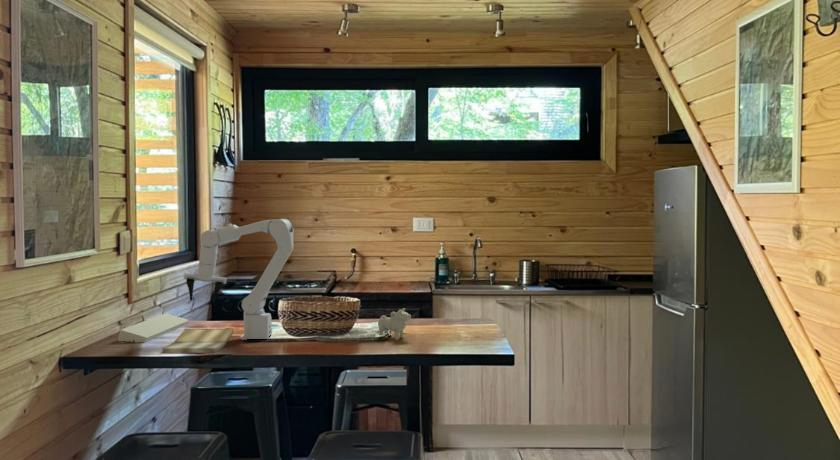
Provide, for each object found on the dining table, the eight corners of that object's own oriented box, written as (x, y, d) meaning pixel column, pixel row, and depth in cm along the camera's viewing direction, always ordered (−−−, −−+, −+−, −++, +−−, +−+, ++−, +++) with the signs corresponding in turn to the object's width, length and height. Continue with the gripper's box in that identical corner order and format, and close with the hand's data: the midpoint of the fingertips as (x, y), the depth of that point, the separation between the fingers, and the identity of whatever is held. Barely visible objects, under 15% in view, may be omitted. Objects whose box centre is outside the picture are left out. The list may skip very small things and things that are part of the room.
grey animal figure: (406, 341, 235) (406, 310, 235) (375, 337, 242) (375, 307, 241) (414, 338, 240) (414, 308, 239) (384, 334, 246) (383, 305, 246)
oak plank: (233, 332, 239) (232, 328, 238) (224, 345, 229) (224, 341, 229) (185, 333, 239) (184, 328, 239) (174, 345, 230) (174, 341, 229)
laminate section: (224, 346, 229) (224, 341, 229) (214, 352, 219) (214, 348, 219) (174, 346, 229) (174, 341, 229) (162, 352, 219) (162, 348, 219)
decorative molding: (186, 331, 270) (163, 324, 271) (189, 320, 270) (165, 313, 270) (143, 350, 236) (117, 342, 237) (147, 337, 236) (120, 329, 236)
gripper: (228, 264, 247) (223, 301, 248) (187, 259, 243) (182, 297, 244) (228, 267, 240) (222, 305, 241) (185, 262, 237) (180, 300, 237)
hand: (202, 301), depth 242 cm, fingers open, 7 cm apart
